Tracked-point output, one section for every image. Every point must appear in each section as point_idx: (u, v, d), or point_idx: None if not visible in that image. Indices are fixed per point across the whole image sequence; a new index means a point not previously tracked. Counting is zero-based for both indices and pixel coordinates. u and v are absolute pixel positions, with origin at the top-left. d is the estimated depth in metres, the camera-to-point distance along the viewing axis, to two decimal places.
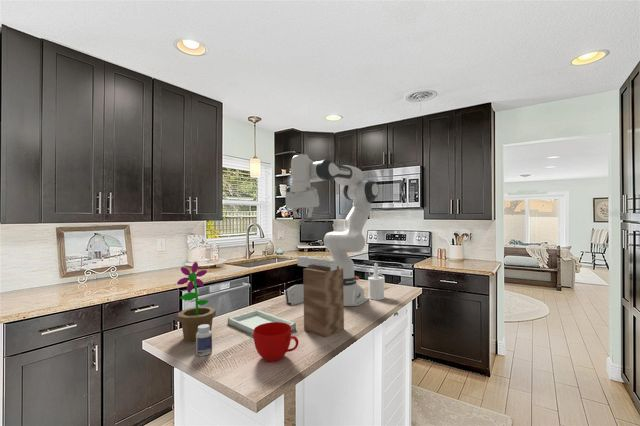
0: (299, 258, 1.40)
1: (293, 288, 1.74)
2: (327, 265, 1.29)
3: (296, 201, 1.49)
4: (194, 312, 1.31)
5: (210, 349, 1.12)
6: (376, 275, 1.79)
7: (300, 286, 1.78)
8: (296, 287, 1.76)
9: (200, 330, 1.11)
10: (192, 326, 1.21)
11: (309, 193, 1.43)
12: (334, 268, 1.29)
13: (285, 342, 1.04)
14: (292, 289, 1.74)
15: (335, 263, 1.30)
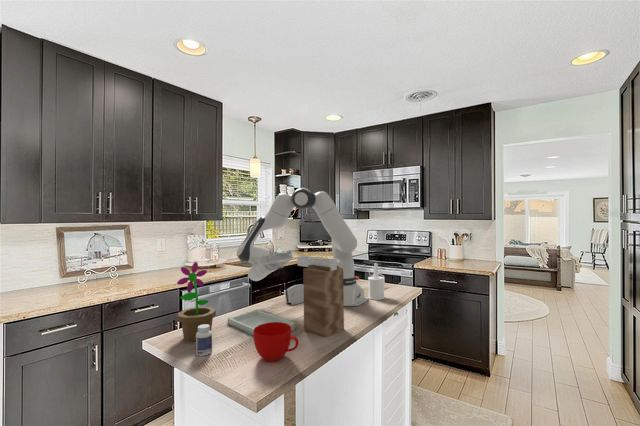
0: (299, 258, 1.40)
1: (293, 288, 1.74)
2: (327, 265, 1.29)
3: (278, 262, 1.60)
4: (194, 312, 1.31)
5: (210, 349, 1.12)
6: (376, 275, 1.79)
7: (300, 286, 1.78)
8: (296, 287, 1.76)
9: (200, 330, 1.11)
10: (192, 326, 1.21)
11: (260, 266, 1.55)
12: (334, 268, 1.29)
13: (285, 342, 1.04)
14: (292, 289, 1.74)
15: (335, 263, 1.30)
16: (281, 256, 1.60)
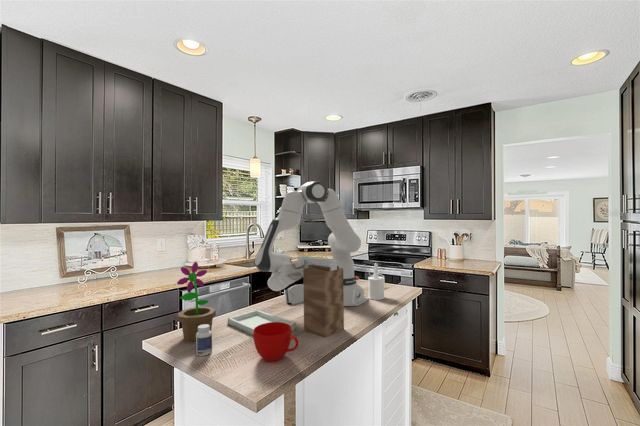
0: (299, 258, 1.40)
1: (293, 288, 1.75)
2: (327, 265, 1.29)
3: None
4: (194, 312, 1.31)
5: (210, 349, 1.12)
6: (376, 275, 1.79)
7: (300, 286, 1.79)
8: (296, 287, 1.76)
9: (200, 330, 1.11)
10: (192, 326, 1.21)
11: (284, 276, 1.40)
12: (334, 268, 1.29)
13: (285, 342, 1.04)
14: (292, 289, 1.74)
15: (335, 263, 1.30)
16: None
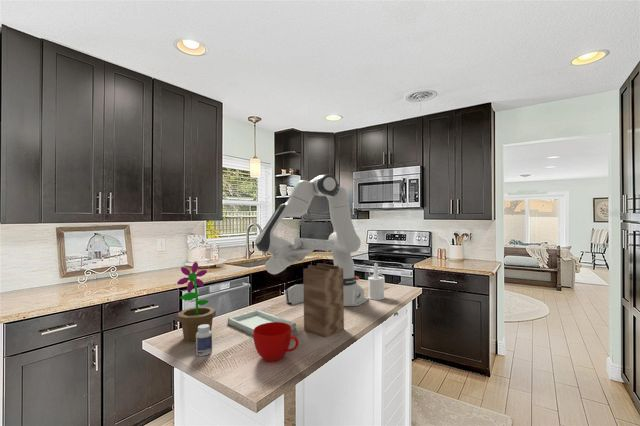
0: (296, 240, 1.42)
1: (293, 288, 1.75)
2: (323, 245, 1.30)
3: (300, 252, 1.46)
4: (194, 312, 1.31)
5: (210, 349, 1.12)
6: (376, 275, 1.79)
7: (300, 286, 1.79)
8: (296, 287, 1.76)
9: (200, 330, 1.11)
10: (192, 326, 1.21)
11: (281, 257, 1.41)
12: (330, 248, 1.31)
13: (285, 342, 1.04)
14: (292, 289, 1.74)
15: (331, 243, 1.31)
16: None
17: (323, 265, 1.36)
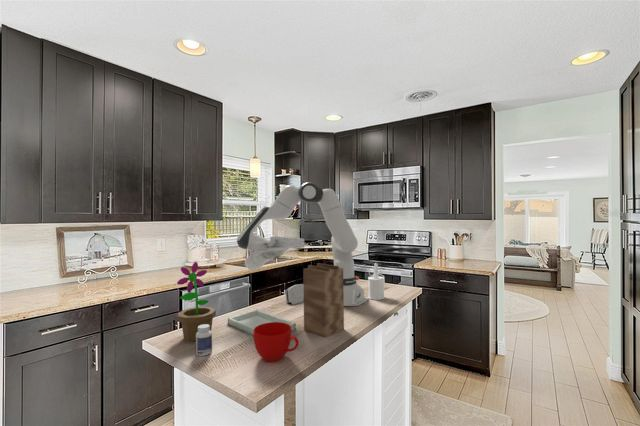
0: (271, 238, 1.52)
1: (293, 288, 1.75)
2: (295, 243, 1.41)
3: (275, 250, 1.57)
4: (194, 312, 1.31)
5: (210, 349, 1.12)
6: (376, 275, 1.79)
7: (300, 286, 1.79)
8: (296, 287, 1.77)
9: (200, 330, 1.10)
10: (192, 326, 1.21)
11: (257, 254, 1.52)
12: (301, 246, 1.41)
13: (285, 342, 1.04)
14: (292, 289, 1.74)
15: (302, 241, 1.42)
16: None
17: (323, 265, 1.36)
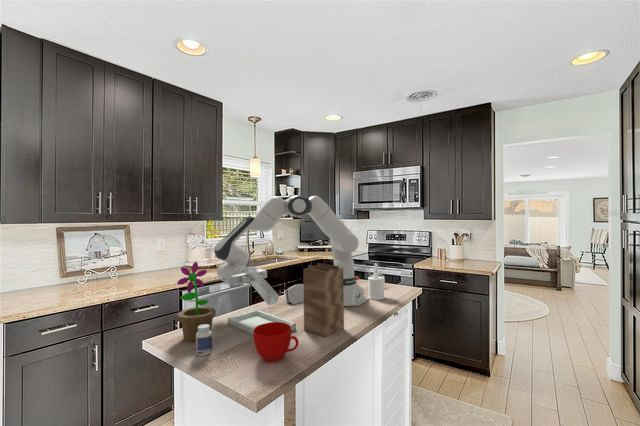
0: (248, 272, 1.40)
1: (294, 288, 1.75)
2: (267, 298, 1.30)
3: None
4: (194, 312, 1.31)
5: (210, 349, 1.12)
6: (376, 275, 1.79)
7: (301, 286, 1.79)
8: (296, 287, 1.77)
9: (200, 330, 1.11)
10: (192, 326, 1.21)
11: None
12: (273, 303, 1.31)
13: (285, 342, 1.04)
14: (292, 289, 1.75)
15: (276, 298, 1.31)
16: None
17: (323, 265, 1.36)
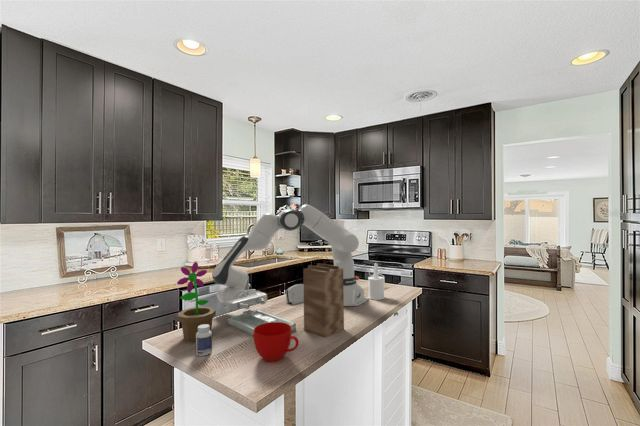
0: (244, 314, 1.43)
1: (294, 287, 1.75)
2: None
3: None
4: (194, 312, 1.31)
5: (210, 349, 1.12)
6: (376, 275, 1.79)
7: (301, 286, 1.79)
8: (296, 287, 1.77)
9: (200, 330, 1.10)
10: (192, 326, 1.21)
11: None
12: None
13: (285, 342, 1.04)
14: (293, 288, 1.75)
15: None
16: (254, 300, 1.46)
17: (323, 265, 1.36)
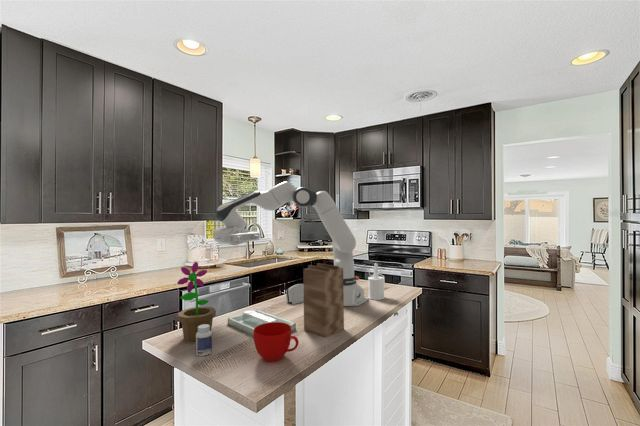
0: (244, 314, 1.43)
1: (294, 287, 1.76)
2: None
3: None
4: (194, 312, 1.31)
5: (210, 349, 1.12)
6: (376, 275, 1.79)
7: (301, 285, 1.80)
8: (297, 287, 1.77)
9: (200, 330, 1.11)
10: (192, 326, 1.21)
11: None
12: None
13: (285, 342, 1.04)
14: (293, 288, 1.75)
15: None
16: (247, 236, 1.56)
17: (323, 265, 1.36)
